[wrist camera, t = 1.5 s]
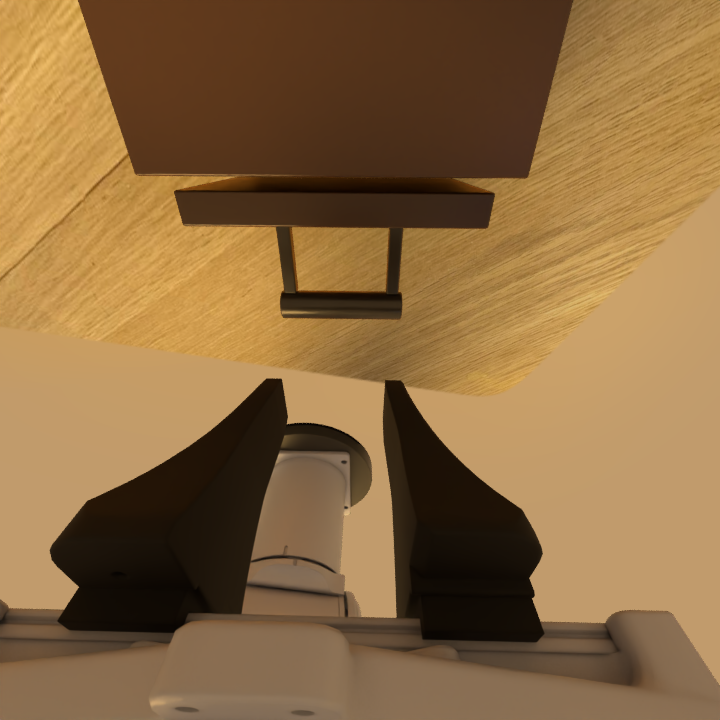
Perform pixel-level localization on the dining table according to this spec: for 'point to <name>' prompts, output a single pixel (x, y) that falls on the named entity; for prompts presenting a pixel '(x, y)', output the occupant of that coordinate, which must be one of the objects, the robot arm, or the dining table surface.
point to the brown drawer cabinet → (329, 85)
